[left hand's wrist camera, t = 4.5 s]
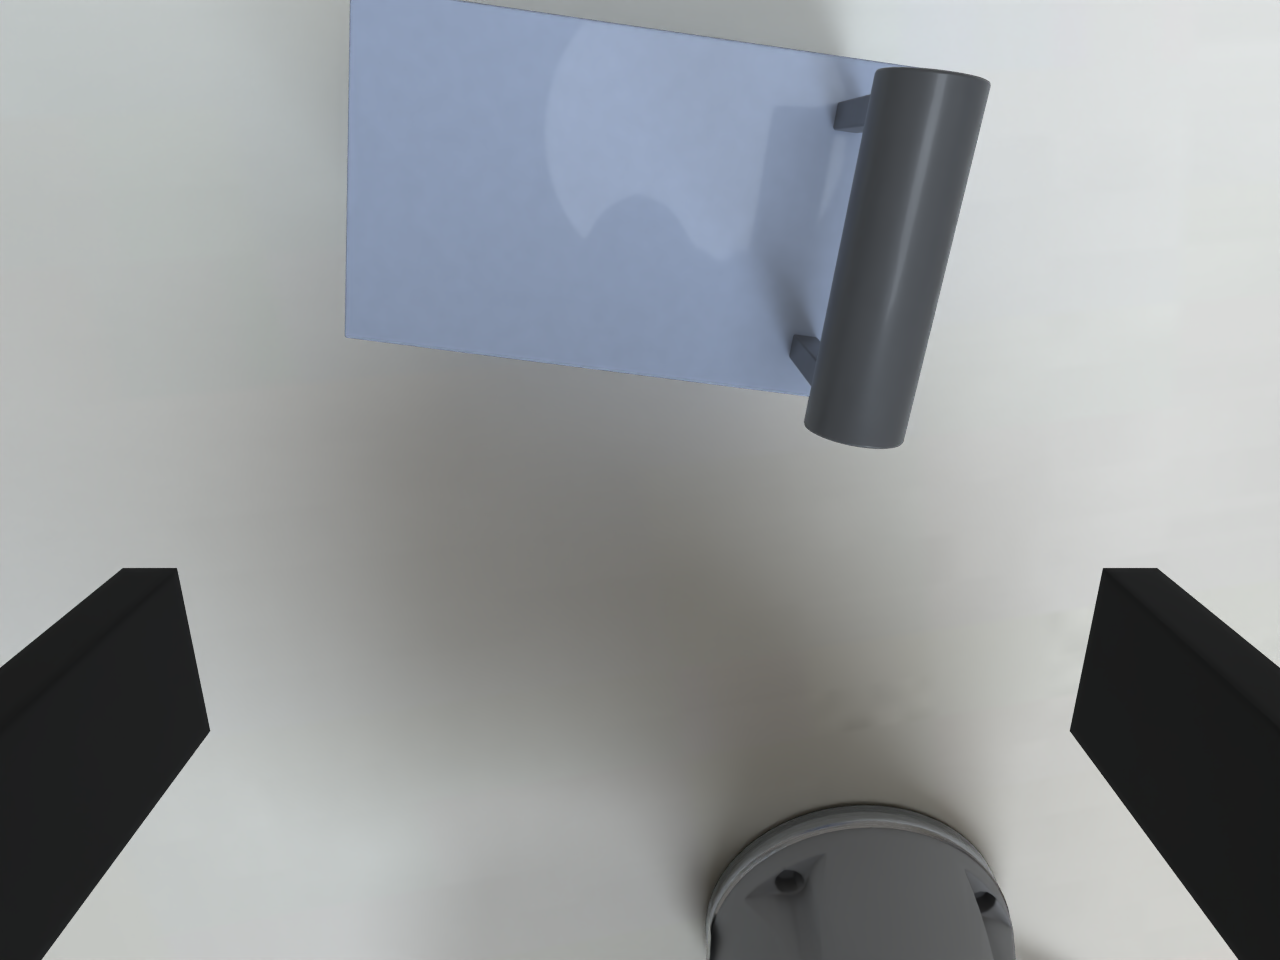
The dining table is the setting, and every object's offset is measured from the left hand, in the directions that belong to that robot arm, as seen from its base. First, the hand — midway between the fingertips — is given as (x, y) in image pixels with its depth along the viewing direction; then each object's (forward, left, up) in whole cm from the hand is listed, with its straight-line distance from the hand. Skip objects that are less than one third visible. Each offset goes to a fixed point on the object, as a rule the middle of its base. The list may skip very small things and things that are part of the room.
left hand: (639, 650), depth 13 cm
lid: (+1, -5, -15) cm, 16 cm away
